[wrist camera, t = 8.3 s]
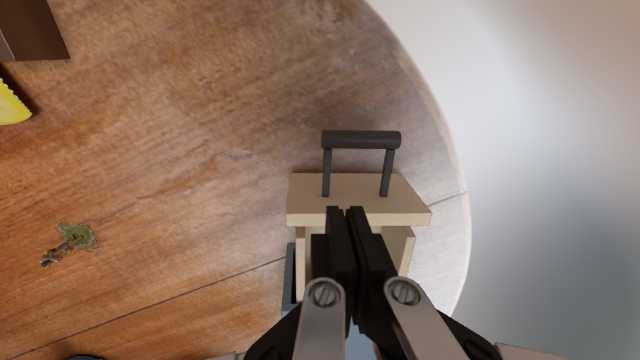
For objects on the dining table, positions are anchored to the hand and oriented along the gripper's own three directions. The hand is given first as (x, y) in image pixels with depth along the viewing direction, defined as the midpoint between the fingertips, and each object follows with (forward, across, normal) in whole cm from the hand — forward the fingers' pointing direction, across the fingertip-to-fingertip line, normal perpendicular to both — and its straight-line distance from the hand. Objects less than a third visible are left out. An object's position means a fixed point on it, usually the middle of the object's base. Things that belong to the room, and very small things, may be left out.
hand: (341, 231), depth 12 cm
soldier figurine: (+15, +27, +12) cm, 33 cm away
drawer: (+14, -3, +8) cm, 16 cm away
